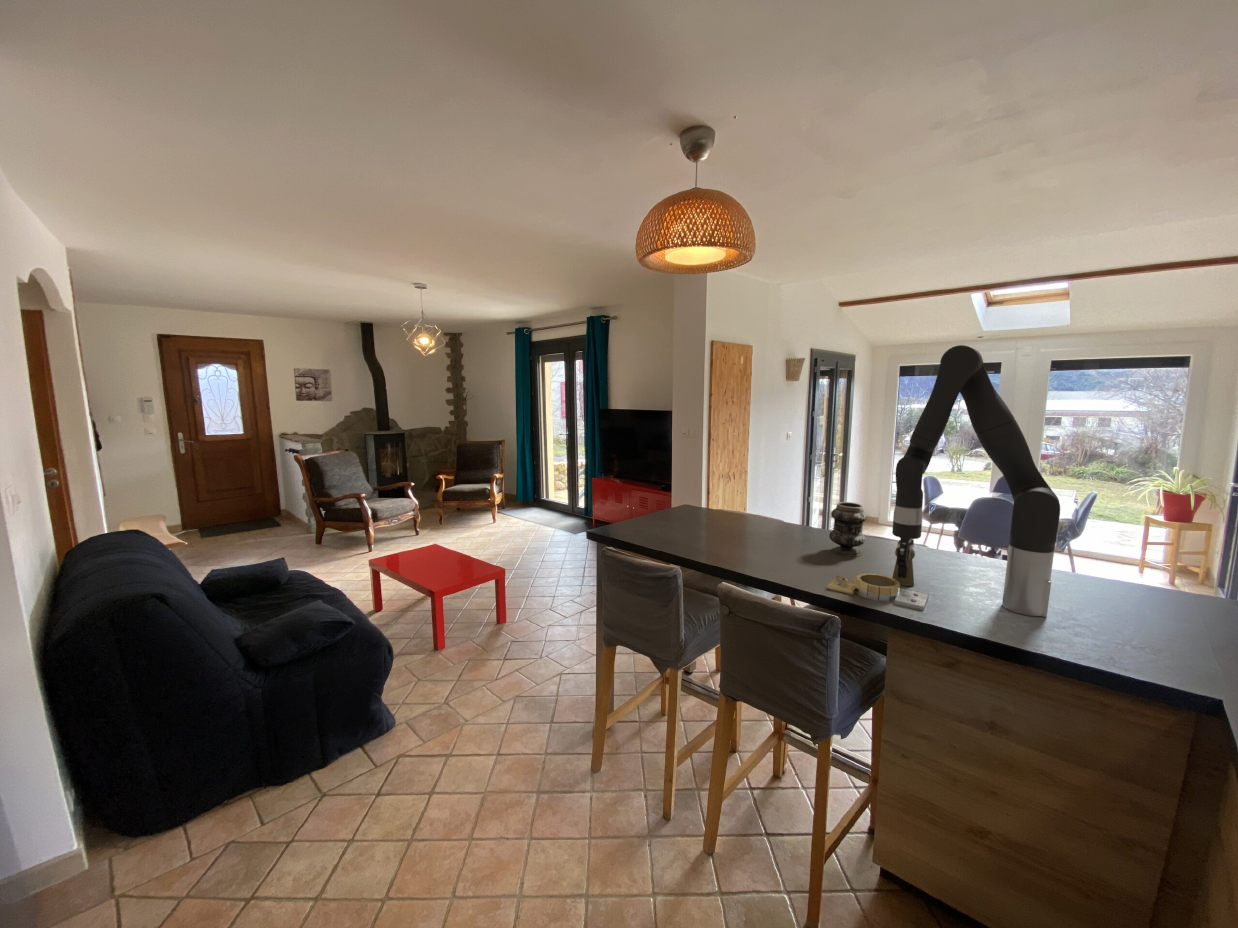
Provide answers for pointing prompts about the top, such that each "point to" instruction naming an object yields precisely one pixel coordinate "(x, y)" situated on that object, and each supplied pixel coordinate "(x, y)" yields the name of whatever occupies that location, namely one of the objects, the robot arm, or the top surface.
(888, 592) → the brass hinge leaf
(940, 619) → the top surface
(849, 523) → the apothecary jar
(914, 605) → the steel hinge leaf
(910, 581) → the cork
